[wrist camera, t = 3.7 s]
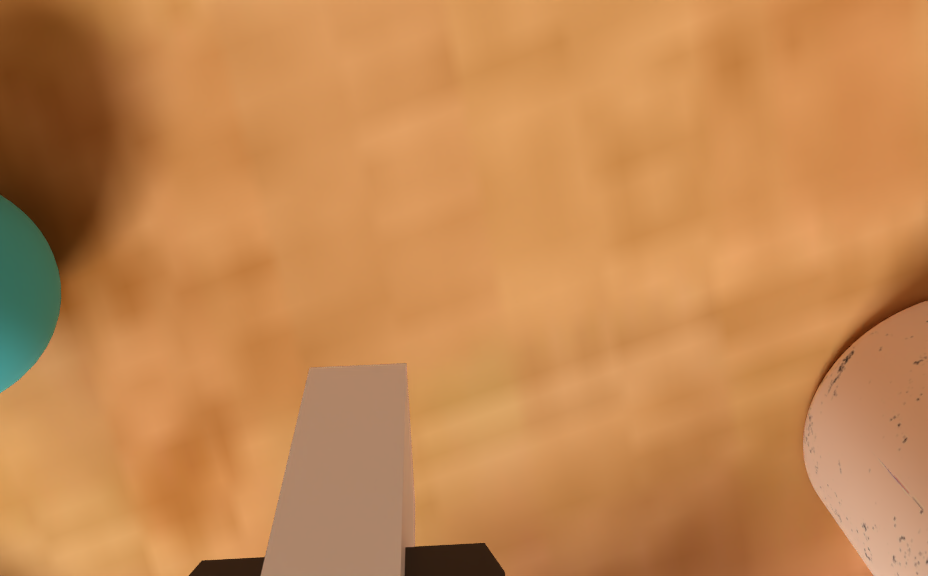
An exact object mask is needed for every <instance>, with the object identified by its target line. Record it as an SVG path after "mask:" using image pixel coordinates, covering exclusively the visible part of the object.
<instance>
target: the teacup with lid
mask: <svg viewBox="0 0 928 576" xmlns="http://www.w3.org/2000/svg"><path fill="white" fill-rule="evenodd" d="M803 452H804V461H805V466H806V470H807V473H808V476H809V479H810V481H811V483H812V485H813V487H814V489H815V491H816V493H817V494H818V496H819V497H820V499H821V500H822V502H823V503H824V505H825V506H826V508H827V509H828V510H829V512H830V513H831V515H832V516H833V518H834V519H835V521H836V522H837V523H838V525H839V526H840V528H841V529H842V531H843V532H844V534H845V535H846V536H847V538H848V539H849V541H850V542H851V544H852V545H853V547H854V548H855V549H856V551H857V552H858V554H859V555H860V557H861V558H862V560H863V561H864V562H865V564H866V565H867V567H868V568H869V570H870V571H871V573H872V574H873V576H928V301H924V302H921V303H919V304H916V305H914V306H911V307H909V308H906V309H904V310H902V311H900V312H898V313H896V314H894V315H892V316H891V317H889V318H887V319H886V320H884V321H882V322H881V323H879V324H877V325H876V326H875V327H873V328H872V329H870V330H869V331H868V332H866V333H865V334H864V335H863V336H861V337H860V338H859V339H858V340H856V341H855V342H854V343H853V344H852V345H851V346H850V347H849V348H848V349H847V350H846V351H845V352H844V353H843V354H842V355H841V356H840V358H839V359H838V360H837V361H836V362H835V363H834V365H833V366H832V367H831V369H830V370H829V371H828V373H827V374H826V376H825V377H824V379H823V381H822V382H821V384H820V385H819V387H818V389H817V391H816V393H815V395H814V397H813V400H812V402H811V405H810V408H809V410H808V414H807V418H806V421H805V428H804V435H803Z"/></svg>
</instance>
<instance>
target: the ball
mask: <svg viewBox="0 0 928 576" xmlns="http://www.w3.org/2000/svg"><path fill="white" fill-rule="evenodd" d="M60 304H61V282H60V276H59V270H58V267H57V264H56V261H55V258H54V255H53V253H52V251H51V248H50V246H49V244H48V242H47V241H46V239H45V237H44V236H43V234H42V233H41V231H40V230H39V229H38V227H37V226H36V225H35V224H34V222H33V221H32V220H31V219H30V218H29V217H28V216H27V215H26V214H25V213H24V212H23V211H22V210H21V209H19V208H18V207H17V206H16V205H14V204H13V203H12V202H11V201H9V200H7V199H6V198H4V197H3V196H1V195H0V393H1V392H2V391H4V390H6V389H7V388H9V387H10V386H11V385H13V384H14V383H15V382H17V381H18V380H19V379H20V378H21V377H22V376H23V375H24V374H25V373H26V372H27V371H28V370H29V369H30V368H31V367H32V366H33V365H34V364H35V363H36V362H37V360H38V359H39V357H40V356H41V355H42V353H43V352H44V350H45V349H46V347H47V345H48V343H49V341H50V339H51V337H52V335H53V333H54V330H55V327H56V323H57V320H58V317H59V312H60Z"/></svg>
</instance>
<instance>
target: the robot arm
mask: <svg viewBox="0 0 928 576" xmlns="http://www.w3.org/2000/svg"><path fill="white" fill-rule="evenodd" d="M189 576H505V572H504V570H503V569H502V567H501V566H500V564H499V563H498V562H497V560H496V559H495V557H494V556H493V555H492V553H491V552H490V550H489V549H488V547H487V546H486V545H485V543H476V544H457V545H438V546H419V547H415V494H414V477H413V461H412V445H411V429H410V413H409V396H408V380H407V364H406V363H402V364H380V365H358V366H336V367H315V368H309V372H308V377H307V381H306V385H305V389H304V393H303V398H302V402H301V406H300V410H299V415H298V419H297V423H296V427H295V432H294V436H293V440H292V444H291V449H290V453H289V457H288V461H287V466H286V470H285V474H284V478H283V483H282V487H281V491H280V495H279V500H278V504H277V508H276V512H275V517H274V521H273V525H272V529H271V534H270V538H269V542H268V546H267V551H266V555H265V557H261V558H242V559H223V560H205V561H201V562H200V563H199V565H198V566H197V567H196V568H195V569H194V570H193V571H192V573H191V574H190V575H189Z"/></svg>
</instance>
